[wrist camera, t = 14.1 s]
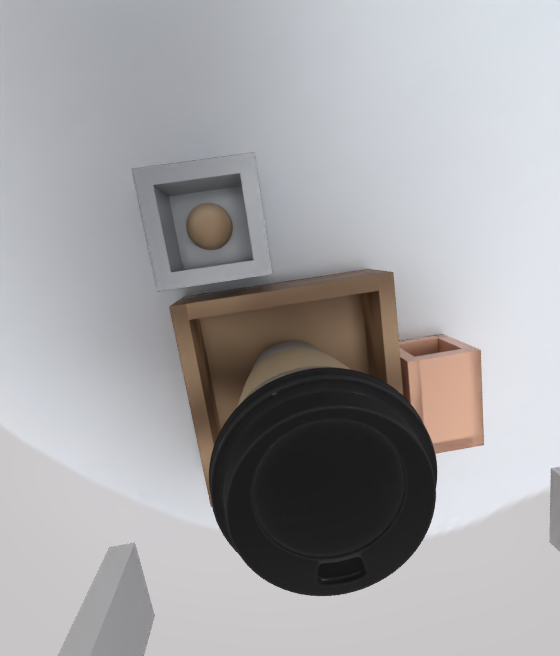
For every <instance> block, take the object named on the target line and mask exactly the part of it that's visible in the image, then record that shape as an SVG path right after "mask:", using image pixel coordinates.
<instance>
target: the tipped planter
mask: <svg viewBox="0 0 560 656" xmlns="http://www.w3.org/2000/svg"><path fill="white" fill-rule="evenodd" d="M399 350H400V362H401V375H402V387H403V396H404V397H405V398H406V399H407V400H408V401H409V402H410V403H411V405H412V406H413V407H414V409H415V410H416V411H417V413H418V415H419V416H420V418H421V420H422V422H423V424H424V426H425V427H426V429H427V431H428V433H429V435H430V438H431V440H432V443H433V447H434V450H435V454H436V453H441V452H447V451H453V450H458V449H464V448H470V447H475V446H481V445H484V433H483V404H482V375H481V350H480V349H477V348H475V347H472V346H470V345H468V344H465V343H463V342H460V341H458V340H456V339H453V338H451V337H448V336H446V335H444V334H440V335H434V336H428V337H422V338H416V339H410V340H403V341H399Z"/></svg>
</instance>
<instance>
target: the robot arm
mask: <svg viewBox="0 0 560 656" xmlns="http://www.w3.org/2000/svg"><path fill="white" fill-rule="evenodd" d="M550 494H551V495H550V543H551V544H552V545H554V546H555V548H557V549H558V550H559V551H560V467H556V468H551V492H550ZM153 620H154V612H153V608H152V604H151V601H150V597H149V593H148V590H147V586H146V582H145V578H144V575H143V571H142V567H141V563H140V560H139V556H138V553H137V549H136V545H135V543H131V544H125V545H119V546H114V547H109V549H108V551H107V553H106V555H105V558H104V560H103V562H102V564H101V566H100V568H99V570H98V572H97V574H96V576H95V578H94V581H93V583H92V585H91V587H90V589H89V591H88V593H87V595H86V597H85V599H84V602H83V604H82V606H81V608H80V610H79V612H78V614H77V616H76V618H75V621H74V623H73V625H72V627H71V629H70V631H69V633H68V635H67V637H66V640H65V641H64V644H63V646H62V648H61V650H60V652H59V654H58V656H144V654H145V650H146V646H147V642H148V638H149V635H150V631H151V627H152V624H153Z"/></svg>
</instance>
